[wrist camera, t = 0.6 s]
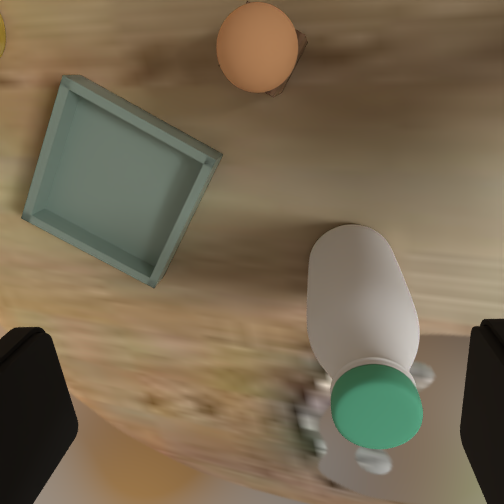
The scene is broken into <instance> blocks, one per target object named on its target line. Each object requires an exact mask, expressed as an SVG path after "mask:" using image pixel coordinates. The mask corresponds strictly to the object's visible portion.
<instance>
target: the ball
mask: <svg viewBox="0 0 504 504" xmlns="http://www.w3.org/2000/svg"><path fill="white" fill-rule="evenodd" d="M297 55H298V39H297V34H296V31H295V28H294V26H293V24H292V22H291V21H290V19H289V18H288V17H287V15H286V14H285V13H283V12H282V11H281V10H280V9H278V8H277V7H275V6H273V5H271V4H268V3H263V2H252V3H248V4H244V5H242V6H240V7H238V8H237V9H235V10H234V11H233V12H232V13H230V14H229V16H228V17H227V18H226V19H225V21H224V22H223V24H222V26H221V28H220V31H219V33H218V38H217V58H218V62H219V64H220V67H221V69H222V71H223V73H224V75H225V76H226V77H227V79H228V80H229V81H230V82H231V83H232V84H234V85H235V86H236V87H238V88H240V89H242V90H245V91H248V92H253V93H261V92H267V91H270V90H272V89H274V88H276V87H278V86H279V85H281V84H282V83H283V82H284V81H285V80H286V79H287V78H288V76H289V75H290V74H291V72H292V70H293V68H294V66H295V63H296V60H297Z"/></svg>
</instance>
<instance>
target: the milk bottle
mask: <svg viewBox="0 0 504 504" xmlns="http://www.w3.org/2000/svg"><path fill="white" fill-rule="evenodd" d="M307 331H308V336H309V341H310V344H311V347H312V350H313V352H314V354H315V356H316V358H317V360H318V362H319V363H320V364H321V366H322V367H323V368H324V370H325V371H326V372H327V373H328V374H329V375H330V377H331V378H332V382H331V388H330V392H331V412H332V418H333V421H334V423H335V426H336V428H337V429H338V431H339V432H340V433H341V434H342V436H344V437H345V438H346V439H347V440H349V441H350V442H352V443H354V444H356V445H358V446H361V447H365V448H370V449H388V448H393V447H396V446H399V445H401V444H404V443H405V442H407V441H408V440H410V439H411V438H412V437H413V436H414V435H415V434H416V433H417V432H418V430H419V428H420V426H421V424H422V418H423V408H422V404H421V400H420V397H419V394H418V391H417V389H416V384H415V381H414V379H413V377H412V375H411V374H410V373H409V370H410V367H411V365H412V363H413V361H414V359H415V356H416V353H417V350H418V344H419V333H420V330H419V321H418V316H417V312H416V309H415V306H414V303H413V300H412V297H411V294H410V292H409V289H408V287H407V284H406V282H405V279H404V277H403V274H402V272H401V270H400V267H399V265H398V262H397V260H396V258H395V255H394V253H393V251H392V249H391V247H390V245H389V243H388V242H387V240H386V239H385V238H384V237H383V236H382V235H381V234H380V233H378V232H377V231H375V230H373V229H371V228H369V227H366V226H362V225H354V224H350V225H342V226H339V227H336V228H333V229H331V230H329V231H328V232H326V233H325V234H323V235H322V236H321V237H320V238H319V239H318V240H317V242H316V243H315V245H314V246H313V248H312V251H311V253H310V258H309V267H308V287H307Z"/></svg>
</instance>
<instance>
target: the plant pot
mask: <svg viewBox="0 0 504 504" xmlns="http://www.w3.org/2000/svg"><path fill="white" fill-rule="evenodd" d="M5 43H6V32H5V26H4V22H3V19H2V16H1V14H0V58H1V56H2V54H3V51H4V48H5Z"/></svg>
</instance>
